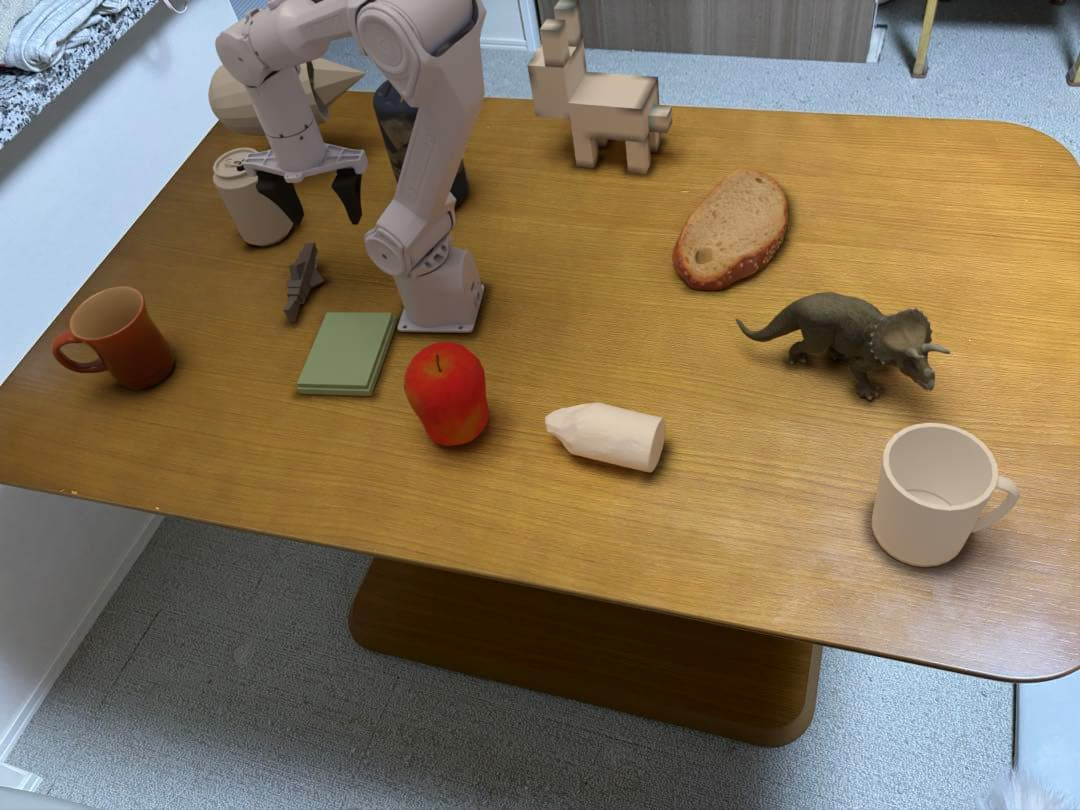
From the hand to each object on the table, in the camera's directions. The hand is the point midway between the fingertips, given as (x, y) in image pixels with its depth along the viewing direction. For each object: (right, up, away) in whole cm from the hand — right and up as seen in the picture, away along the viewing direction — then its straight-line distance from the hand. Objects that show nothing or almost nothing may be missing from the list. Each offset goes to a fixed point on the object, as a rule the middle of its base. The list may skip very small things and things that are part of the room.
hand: (328, 219), depth 109 cm
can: (-12, +1, +16) cm, 20 cm away
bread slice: (+50, -1, +2) cm, 50 cm away
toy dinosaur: (+58, -19, -14) cm, 62 cm away
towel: (+3, -17, -2) cm, 17 cm away
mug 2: (+62, -34, -27) cm, 76 cm away
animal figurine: (-4, -8, +7) cm, 11 cm away
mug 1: (-24, -19, +1) cm, 31 cm away
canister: (+12, +6, +15) cm, 20 cm away
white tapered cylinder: (+33, -27, -16) cm, 45 cm away
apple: (+17, -25, -11) cm, 33 cm away
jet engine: (-9, +14, +25) cm, 30 cm away
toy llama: (+36, +13, +16) cm, 41 cm away
